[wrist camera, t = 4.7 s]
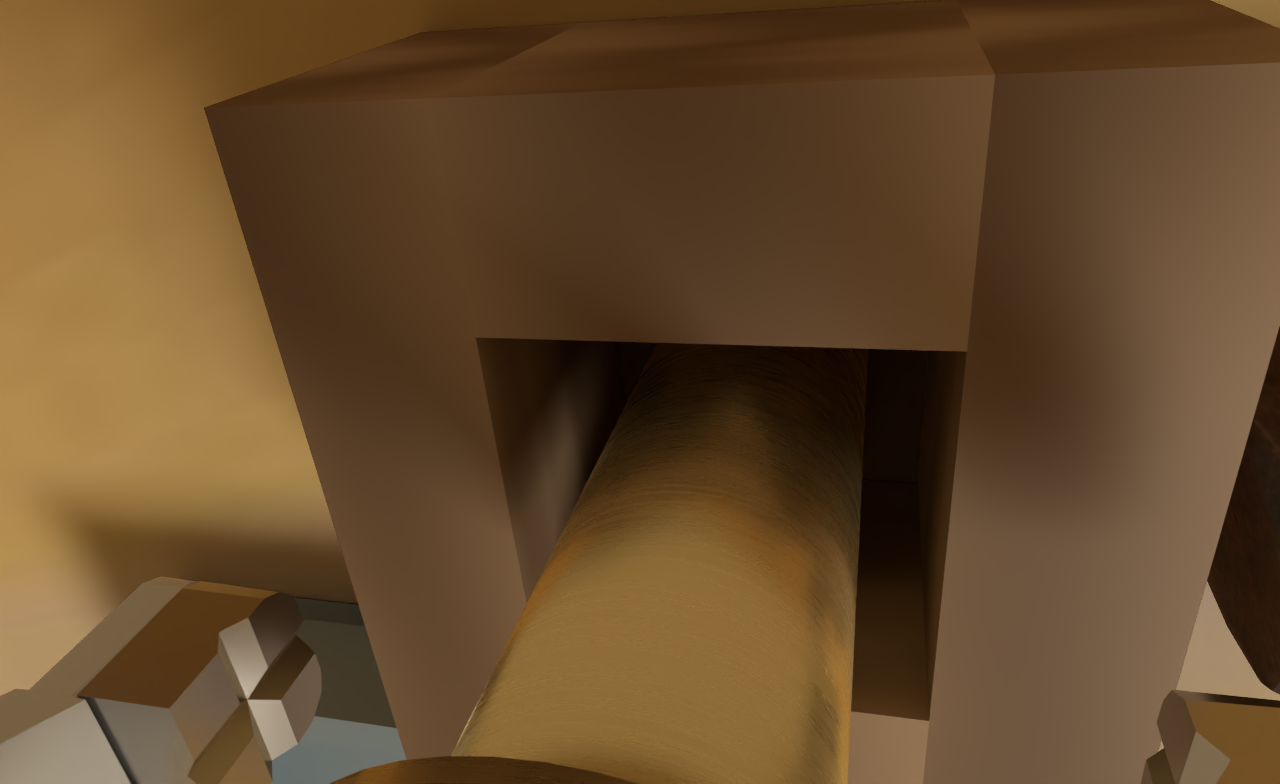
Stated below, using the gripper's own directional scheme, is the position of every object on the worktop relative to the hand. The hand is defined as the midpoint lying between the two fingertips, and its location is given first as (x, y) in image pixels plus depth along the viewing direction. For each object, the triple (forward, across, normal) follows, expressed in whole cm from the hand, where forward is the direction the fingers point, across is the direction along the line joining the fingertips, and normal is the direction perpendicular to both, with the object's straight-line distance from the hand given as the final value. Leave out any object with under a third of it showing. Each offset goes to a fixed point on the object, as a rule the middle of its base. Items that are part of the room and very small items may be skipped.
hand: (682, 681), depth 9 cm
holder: (+7, 0, 0) cm, 7 cm away
